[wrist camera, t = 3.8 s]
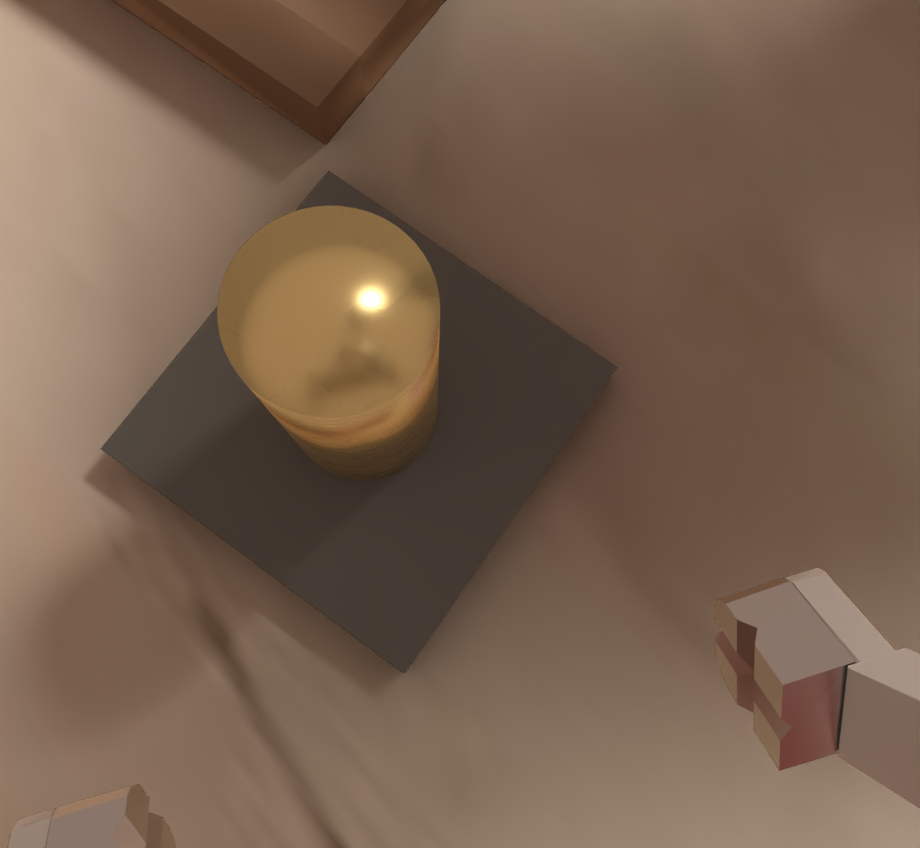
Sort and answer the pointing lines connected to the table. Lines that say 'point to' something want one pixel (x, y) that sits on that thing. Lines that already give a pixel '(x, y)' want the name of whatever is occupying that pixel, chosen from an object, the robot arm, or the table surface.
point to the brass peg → (337, 336)
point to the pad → (385, 499)
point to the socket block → (294, 48)
